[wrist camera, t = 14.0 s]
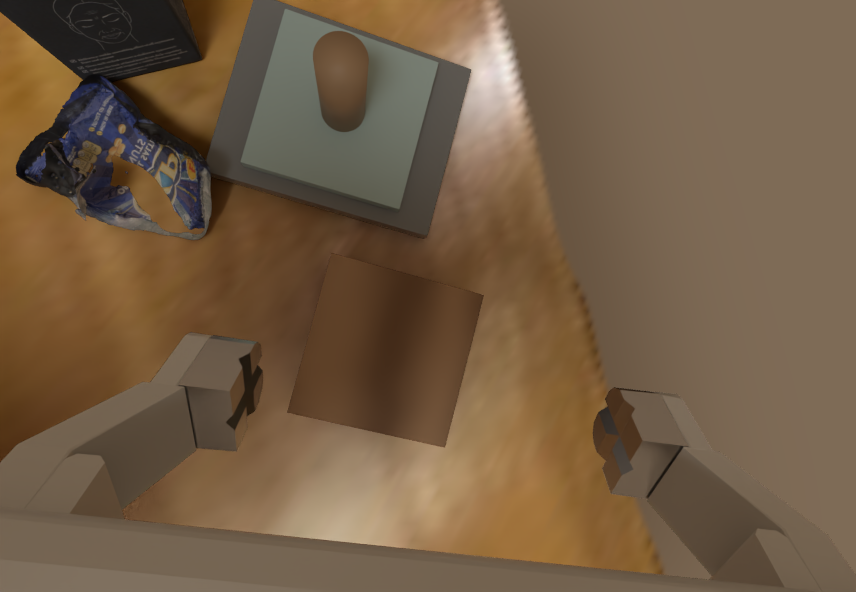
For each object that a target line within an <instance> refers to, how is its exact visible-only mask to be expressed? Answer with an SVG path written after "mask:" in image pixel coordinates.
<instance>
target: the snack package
mask: <svg viewBox="0 0 856 592" xmlns="http://www.w3.org/2000/svg"><path fill="white" fill-rule="evenodd" d="M62 107H63V108H64V109H61V111H60V113H59V114H58V116H57V118H56V119H55V123H53V126H52V127H51V128H49V130H47V131H45V132H44V133H43V132H42V133H41V134H39V135H38V136H36V137H35V139H34V140H33V141H31V142H30V144H29V145H28V146H27V147H26V149H25V150H23V152H22V154H21V155H20V157H19V161H18V162H17V165H16V173H17V174H16V175H17V176H18V177H19V178H21V179H22V180H24V181H25V182H27V183H29V184H32V185H35V186H39V187H48V188H50V189H51V190H53V191H55V192H57V193H59V194H61V195H64V196H66V197H68V198H69V199H70V200H72V201H73V202H74V204H75V205H76V206H77V207H78V208H79V209H76V210H75V212H76V213H77V214H78V215H80V216H81V217H82V218H83V219H85V220H86V215H88V216H90V217H94V218H97V219H98V220H99V221H102V222H105V223H107V224H109V225H114V226H118V227H122V228H127V229H130V230H143V231H144V230H146V231H151V232H156V233H158V234H162V235H166V236H178V237H182V238H185V239H189V240H196V239H197V240H199V239H200V238H202V237H203V236H204V235H205V233H206V231H207V228H208V225H209V219H210V216H211V210H212V207H211V205H212V203H211V192H210V190H211V189H210V186H211V172H210V168H209V166H208V164H207V162H206V161H205V159H204V158H203V157H202V156H201V155H200V154H199V153H198V151H197V150H196V149H194V148H193V147H192V146H190V144H188V143H186V142H184V141H182V140H181V139H179V138H177V137H175V136H173V135H172V134H170V133H168V132H167V131H166V130H164V129H163V128H162V127H160V126H159V125H158V124H156V123H153V122H152V121H151V120H149V119H147V118H145V117H144V115H142V114H141V113H140V110H139V108H138V107H137V106H136V105H135V103H134V102H133V101H132V100H131V99H130V97H129V96H127V95H126V93H125V92H123V91H122V90H119V89H118V88H117V87H116V86H115V85H113V84H112V82H110V81H109V80H108V79H107V78H105V77H103V76H101V75H97V74H92V75H89V76H87V78H85V80H83V81H82V82H80V85H79V86H78V88H77V89H76V90H75V91H74V92H72V94H71V97H70V99H69V100H68V101H67V102H66V103H65V105H63V106H62ZM67 131H68V134H66V138H65V139H63V138H62V137H63V136H64V134H65V133H66V132H67ZM49 142H52V143H49ZM48 143H49V144H48ZM44 148H45V153H43V156H41V153H42V151H43V149H44ZM112 156H118V157H120V158H122V159H124V160H126V161H128V162H131V163H134V164H136V165H139V166H140V167H142V168H144V169H145V170H146V171H147V172H149V173H150V174H151V175H152V176H153V177H154V178H155V179H156V180H157V181H158V183H159V184H160V186H161V187H162V188H163V189H164V192H165V193H166V194H167V196H168V197H169V198H170V201H171V204H172V205H173V209H174V210H175V211H176V212H177V213H178V215H179V216H180V217H181V218H182V220H183V222H184V224H185V226H187V227H188V229H191V230H192V229H193V228H204V231H203V232H202V233H201V234H192V233H189V232H184V233H171V232H167V231H165V230H163V229H162V228H160V227H159V226H158V224H157V223H156V222H152V221H151V218H150V215H149V214H148V213H146V212H145V211H144V210H142V209H141V207H140V206H139V205H138V204H137V201H136V200H135V199H134V197H133V196H132V194H131V192H130V189H129V187H127V186H120V185H118V186H117V187H114V186H110V182H111V178H112V173H113V163H112ZM90 163H92V164H93V169H92V170H91V172H90V173H89V172H88V170H89V169H90V167H92V165H91V164H90ZM125 173H127V174H128V172H127V171H125ZM36 175H38V177H36ZM88 175H89V176H88Z"/></svg>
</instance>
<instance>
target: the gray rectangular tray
mask: <svg viewBox="0 0 856 592" xmlns="http://www.w3.org/2000/svg"><path fill="white" fill-rule="evenodd" d="M285 9H288V10H291V11H293V12H296V13H299V14H302V15H305V16H308V17H310V18H313V19H316V20H319V21H322V22H325V23H328V24H330V25H333V26H336V27H339V28H342V29H345V30H347V31H350V32H353V33H356V34H359V35H362V36H365V37H367V38H370V39H373V40H376V41H379V42H382V43H384V44H387V45H390V46H393V47H396V48H399V49H402V50H404V51H407V52H410V53H413V54H416V55H419V56H421V57H424V58H427V59H430V60H433V61H436V62H439V63H438V67H437V71H436V75H435V78H434V82H433V86H432V90H431V93H430V97H429V101H428V104H427V108H426V112H425V116H424V119H423V123H422V127H421V131H420V134H419V138H418V142H417V145H416V149H415V153H414V157H413V160H412V164H411V168H410V172H409V175H408V179H407V183H406V186H405V190H404V194H403V198H402V201H401V205H400V209H399V211H398V212H396V211H393V210H389V209H386V208H383V207H379V206H376V205H372V204H369V203H366V202H362V201H359V200H356V199H352V198H349V197H345V196H342V195H339V194H335V193H332V192H329V191H325V190H322V189H318V188H315V187H312V186H308V185H305V184H302V183H298V182H295V181H291V180H288V179H285V178H281V177H278V176H275V175H271V174H268V173H265V172H261V171H258V170H254V169H251V168H248V167H244V166H243V165H242V163H241V158H242V155H243V151H244V148H245V145H246V141H247V138H248V134H249V131H250V127H251V124H252V120H253V117H254V114H255V110H256V107H257V103H258V100H259V96H260V93H261V90H262V86H263V83H264V79H265V76H266V72H267V69H268V65H269V62H270V59H271V55H272V52H273V48H274V45H275V41H276V38H277V35H278V31H279V28H280V24H281V21H282V17H283V14H284V10H285ZM470 73H471V69H468V68H466V67H463V66H460V65H457V64H454V63H451V62H449V61H446V60H443V59H440V58H437V57H435V56H432V55H429V54H426V53H423V52H420V51H418V50H415V49H412V48H409V47H406V46H403V45H401V44H398V43H395V42H392V41H389V40H386V39H384V38H381V37H378V36H375V35H372V34H370V33H367V32H364V31H361V30H358V29H355V28H353V27H350V26H347V25H344V24H341V23H338V22H336V21H333V20H330V19H327V18H324V17H322V16H319V15H316V14H313V13H310V12H307V11H305V10H302V9H299V8H296V7H293V6H290V5H288V4H285V3H282V2H279V1H276V0H253V3H252V7H251V10H250V14H249V17H248V20H247V24H246V27H245V30H244V34H243V37H242V41H241V44H240V47H239V51H238V54H237V57H236V61H235V64H234V68H233V71H232V74H231V78H230V81H229V84H228V88H227V91H226V94H225V98H224V101H223V105H222V108H221V111H220V115H219V118H218V121H217V125H216V128H215V132H214V135H213V138H212V142H211V145H210V148H209V152H208V155H207V159H206V162H207V164H208V166H209V168H210V172H211V177H214V178H217V179H220V180H224V181H227V182H231V183H234V184H238V185H241V186H244V187H248V188H251V189H255V190H258V191H262V192H265V193H268V194H272V195H275V196H279V197H282V198H286V199H289V200H293V201H296V202H299V203H303V204H306V205H310V206H313V207H317V208H320V209H323V210H327V211H330V212H334V213H337V214H341V215H344V216H347V217H351V218H354V219H358V220H361V221H365V222H368V223H372V224H375V225H378V226H382V227H385V228H389V229H392V230H396V231H399V232H402V233H406V234H409V235H413V236H416V237H420V238H423V239H425V238H426V237H427V235H428V232H429V228H430V224H431V220H432V216H433V213H434V209H435V205H436V201H437V198H438V194H439V190H440V186H441V182H442V179H443V175H444V171H445V167H446V164H447V160H448V156H449V152H450V148H451V145H452V141H453V137H454V133H455V130H456V126H457V122H458V118H459V114H460V111H461V107H462V103H463V99H464V96H465V92H466V88H467V84H468V80H469V77H470Z"/></svg>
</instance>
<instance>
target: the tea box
mask: <svg viewBox="0 0 856 592" xmlns="http://www.w3.org/2000/svg"><path fill="white" fill-rule="evenodd" d="M483 296H484V295H481V294H478V293H474V292H471V291H467V290H463V289H460V288H456V287H453V286H449V285H445V284H442V283H438V282H435V281H431V280H427V279H424V278H420V277H417V276H413V275H409V274H406V273H402V272H399V271H395V270H391V269H388V268H384V267H381V266H377V265H373V264H370V263H366V262H363V261H359V260H355V259H352V258H348V257H345V256H341V255H337V254H334V253H331V256H330V260H329V263H328V267H327V271H326V274H325V278H324V281H323V285H322V289H321V292H320V296H319V299H318V303H317V307H316V310H315V314H314V318H313V321H312V325H311V328H310V332H309V336H308V339H307V343H306V346H305V350H304V354H303V357H302V361H301V365H300V368H299V372H298V375H297V379H296V383H295V386H294V390H293V393H292V397H291V401H290V404H289V408H288V411H287V413H292V414H296V415H301V416H305V417H310V418H314V419H319V420H323V421H328V422H332V423H337V424H341V425H346V426H350V427H355V428H359V429H364V430H368V431H373V432H377V433H382V434H386V435H391V436H395V437H400V438H404V439H409V440H413V441H418V442H422V443H427V444H431V445H436V446H440V447H445V445H446V441H447V437H448V434H449V430H450V426H451V422H452V418H453V414H454V410H455V406H456V402H457V398H458V394H459V390H460V387H461V383H462V379H463V375H464V371H465V367H466V363H467V359H468V355H469V351H470V347H471V343H472V340H473V336H474V332H475V328H476V324H477V320H478V316H479V312H480V308H481V304H482V300H483Z"/></svg>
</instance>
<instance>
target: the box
mask: <svg viewBox="0 0 856 592" xmlns="http://www.w3.org/2000/svg"><path fill="white" fill-rule="evenodd" d="M0 12H1V13H2V14H4V15H5V16H6V17H7V18H8V19H10V20H11V21H12V22H13V23H15V24H16V25H17V26H18V27H19V28H20V29H22V30H23V31H24V32H26V33H27V34H28V35H29V36H30V37H31V38H33V39H34V40H35V41H36V42H38V43H39V44H40V45H41V46H43V47H44V48H45V49H46V50H48V51H49V52H50V53H51V54H52V55H53V56H55V57H56V58H57V59H58V60H60V61H61V62H62V63H63V64H65V65H66V66H67V67H68V68H69V69H71V70H72V71H73V72H74V73H75V74H77V75H78V76H79V77H80V78H81V79H83V80H85V78H87V76H89V75H92V74H97V75H101V76H103V77H105V78H107V79H108V80H109V81H110V82H111V81H116V80H119V79H124V78H128V77H133V76H137V75H141V74H145V73H149V72H154V71H158V70H162V69H166V68H170V67H174V66H179V65H183V64H187V63H191V62H195V61H199V60H202V57H201V53H200V51H199V48H198V45H197V42H196V38H195V36H194V32H193V30H192V27H191V24H190V21H189V18H188V15H187V12H186V9H185V6H184V3H183V0H0Z"/></svg>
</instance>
